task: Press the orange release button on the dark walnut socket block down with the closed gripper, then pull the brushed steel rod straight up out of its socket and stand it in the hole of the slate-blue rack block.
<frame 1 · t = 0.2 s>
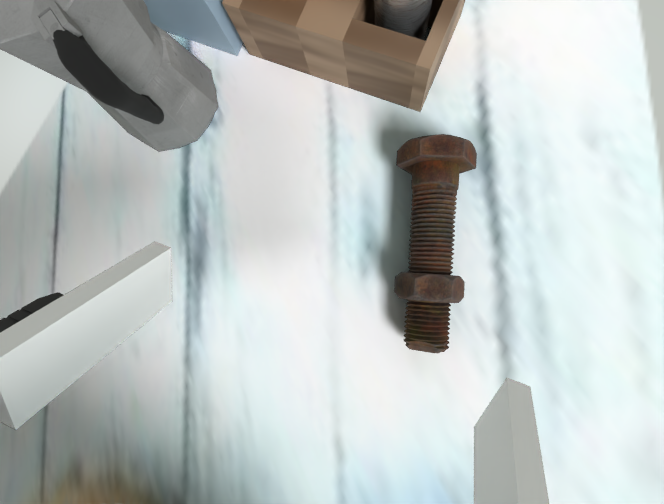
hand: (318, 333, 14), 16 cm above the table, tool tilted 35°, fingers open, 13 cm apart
brushed steel rod: (398, 50, 32), resting in socket block
coffeepot: (178, 113, 34), on the table
bolt: (425, 249, 30), on the table
socket block: (351, 35, 33), on the table
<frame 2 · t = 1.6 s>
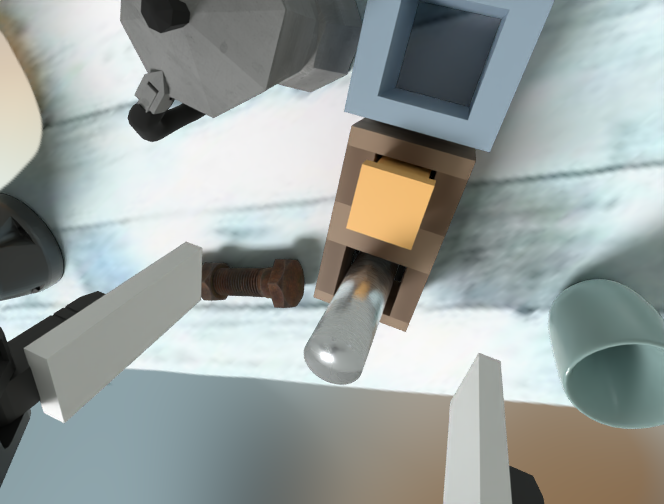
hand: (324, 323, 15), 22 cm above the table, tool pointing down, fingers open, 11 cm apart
cup: (590, 303, 34), on the table
brushed steel rod: (382, 251, 38), resting in socket block
coffeepot: (302, 41, 32), on the table
release button: (395, 192, 28), point 6 cm above the table, slide at 0.0 cm
bolt: (247, 270, 45), on the table
rack block: (444, 55, 29), on the table
socket block: (394, 213, 36), on the table
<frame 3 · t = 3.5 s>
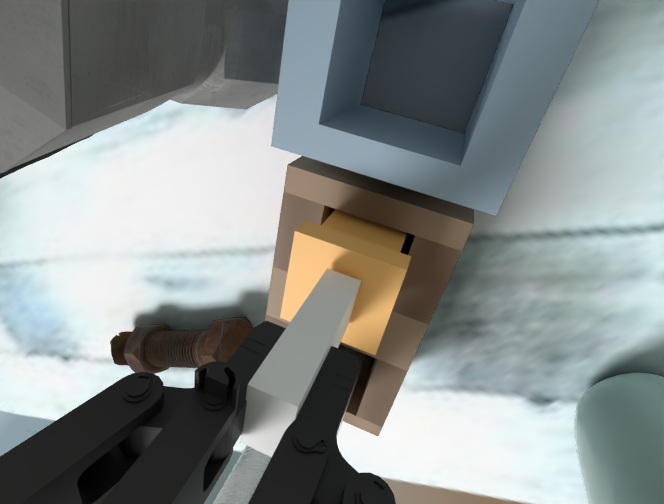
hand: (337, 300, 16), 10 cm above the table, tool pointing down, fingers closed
cup: (630, 397, 25), on the table
brushed steel rod: (351, 316, 29), resting in socket block
coffeepot: (230, 38, 23), on the table
release button: (357, 260, 19), point 6 cm above the table, slide at 0.3 cm, touching gripper
bolt: (192, 330, 36), on the table
rack block: (429, 59, 20), on the table
socket block: (365, 270, 27), on the table
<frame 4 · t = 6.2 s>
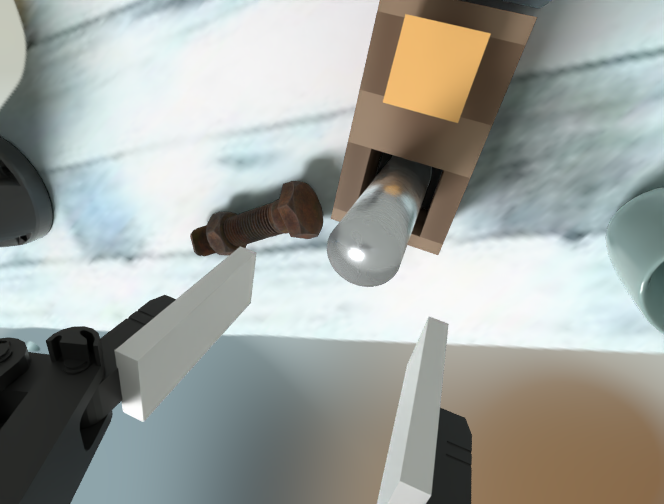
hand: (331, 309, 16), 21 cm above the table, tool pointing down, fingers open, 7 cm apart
cup: (653, 222, 29), on the table
brushed steel rod: (408, 172, 33), resting in socket block
release button: (437, 68, 25), point 5 cm above the table, slide at 1.7 cm
bolt: (260, 217, 41), on the table
socket block: (424, 123, 31), on the table
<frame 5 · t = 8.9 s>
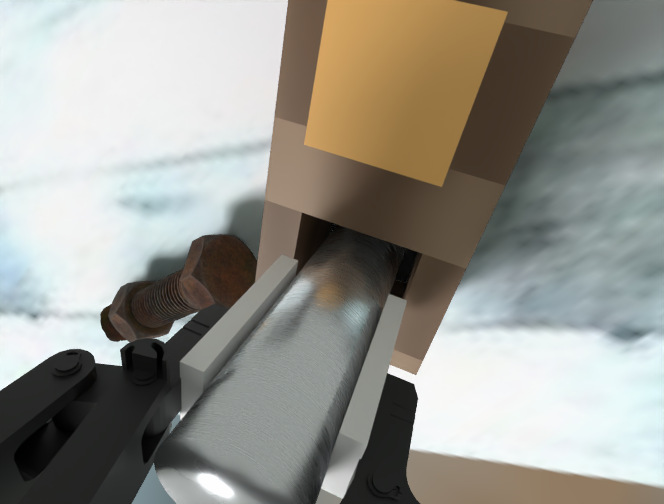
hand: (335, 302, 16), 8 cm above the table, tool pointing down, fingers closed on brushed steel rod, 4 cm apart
brushed steel rod: (375, 230, 22), resting in socket block, touching gripper
release button: (407, 80, 14), point 5 cm above the table, slide at 1.7 cm
bolt: (187, 282, 30), on the table
socket block: (396, 161, 20), on the table
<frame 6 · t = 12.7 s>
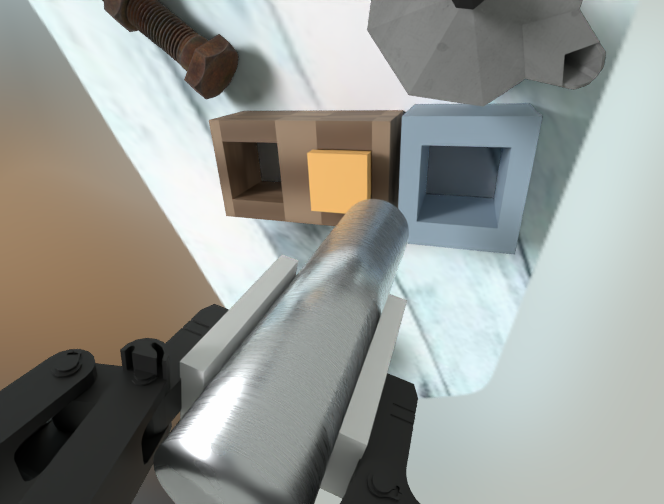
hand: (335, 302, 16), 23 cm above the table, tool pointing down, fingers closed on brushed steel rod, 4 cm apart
brushed steel rod: (375, 231, 22), point 15 cm above the table, touching gripper
coffeepot: (460, 10, 29), on the table
release button: (349, 172, 33), point 5 cm above the table, slide at 1.7 cm
bolt: (175, 23, 37), on the table
rack block: (462, 163, 34), on the table
socket block: (320, 158, 38), on the table
when the fingers open (11 cm above the table, at t = 16.2 s): brushed steel rod drops 3 cm, resting in rack block.
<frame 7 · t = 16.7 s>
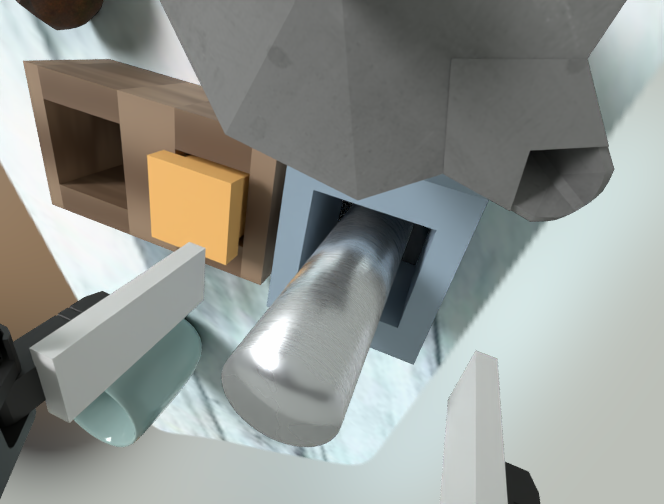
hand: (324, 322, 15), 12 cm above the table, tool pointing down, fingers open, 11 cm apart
cup: (181, 330, 38), on the table
brushed steel rod: (385, 212, 25), resting in rack block
release button: (223, 192, 23), point 5 cm above the table, slide at 1.7 cm
rack block: (385, 212, 25), on the table
socket block: (207, 154, 27), on the table
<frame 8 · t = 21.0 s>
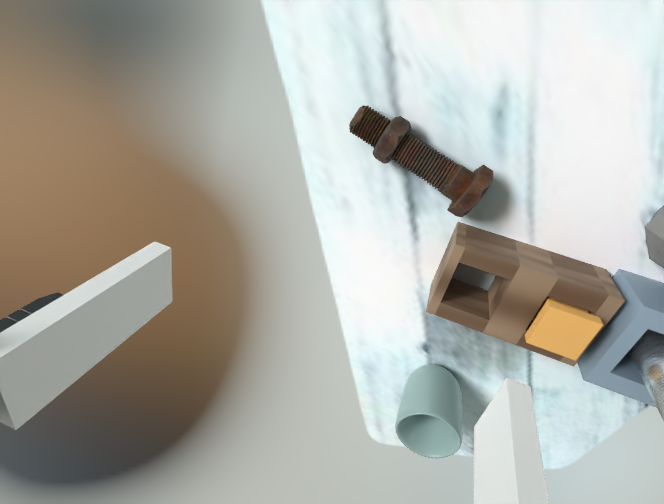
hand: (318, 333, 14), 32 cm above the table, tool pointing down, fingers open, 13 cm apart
cup: (434, 376, 54), on the table
brushed steel rod: (635, 319, 41), resting in rack block
release button: (556, 313, 39), point 5 cm above the table, slide at 1.7 cm
bolt: (419, 150, 41), on the table
rack block: (635, 319, 41), on the table
socket block: (511, 277, 44), on the table
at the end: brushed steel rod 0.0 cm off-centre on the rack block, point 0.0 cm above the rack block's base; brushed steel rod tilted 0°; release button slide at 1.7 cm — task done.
